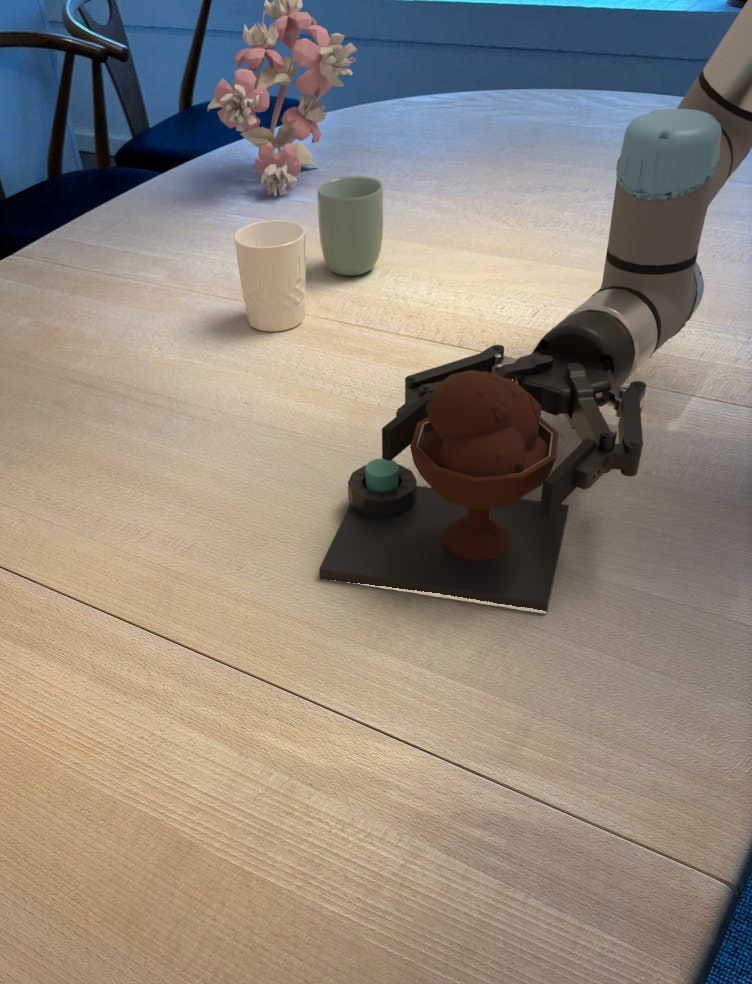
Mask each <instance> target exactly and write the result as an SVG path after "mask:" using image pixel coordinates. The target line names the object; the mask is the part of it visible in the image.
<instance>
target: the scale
mask: <svg viewBox="0 0 752 984" xmlns="http://www.w3.org/2000/svg"><path fill="white" fill-rule="evenodd" d="M366 465H367V464H365V465H363V466H361V467H359V468H357V469H356V470H354V471H353V472H352V473H351V475H350V477H349V479H348V481H347V496H348V497H347V498H348V499H347V500H348V501H349V506H348V507H347V510H346V512H345V513H344V515H343V518H342V520H341V522H340V524H339V527H338V528H337V531H336V532H335V534H334V537H333V539H332V541H331V543H330V546H329V548H328V549H327V552H326V554H325V556H324V558H323V559H322V562H321V564H320V566H319V580H322V579H327V580H326V581H329V580H333V581H332V582H335V581H334V580H336V581H341V582H350V583H356V584H357V583H360V584H369V585H375V586H386V587H392V588H399V589H406V590H407V589H408V590H413V591H414V590H417V591H421V592H422V591H424V592H432V593H440V594H443V595H451V596H454V597H455V596H457V597H463V598H467V599H469V598H470V599H476V600H480V601H487V602H488V601H489V602H493V603H497V604H505V605H512V606H516V607H525V608H526V607H527V608H533V609H537V610H543V611H547V612H548V610H549V606H548V604H549V605H550V601H551V596H552V591H551V590H553V587H552V586H554V582H555V577H556V573H555V572H557V568H556V567H558V563H557V562H559V558H560V554H559V553H561V549H560V548H562V544H563V540H562V539H564V535H563V534H565V530H566V526H567V525H566V524H567V521H566V520H568V516H567V515H569V510H570V504H565V503H564V504H563V503H561V504H560V505H559V506H558V507H557V508H556V509H555V510H554V512H553V513H552V514H551V515H550V516H547V515H544V514H541V513H539V512H540V504H541V500H532V499H525V498H524V499H523V498H520V499H518V500H517V501H515V502H513V503H512V504H510V505H508V506H506V507H502V508H493V509H489V518H491V519H495V520H498V521H499V522H500V523H501V524H502V525H503V526H504V527H505V528H506V529H507V530H508V531H509V533H510V536H511V537H510V544H509V550H507V551H505V552H504V553H502V554H501V555H499V556H498V557H496V558H495V559H488V560H477V561H471V560H468V559H465V558H461V557H458V556H455V555H452V554H451V552H450V551H449V550H448V549H447V548H446V547H445V546H444V544H443V543H442V542H443V538H444V533H445V530H446V527H447V525H449V524H451V523H452V522H454V521H456V520H457V519H459V518H461V517H467V516H468V508H467V507H464V506H460V505H457V504H453V503H450V502H448V501H446V500H445V499H443V498H442V497H441V496H439V495H438V494H437V493H436V492H435V491H434V490H433V488H432V487H430V486H420V485H417V484H418V480H417V478H416V476H415V474H414V472H413V471H412V470H410V469H409V468H407V467H405V466H403V465H401V464H398V466H399V484H398V487H397V488H396V489H395V490H393V491H389V492H383V493H381V492H373V491H370V490H369V489H367V487H366V470H365V468H366ZM564 529H565V530H564ZM558 557H559V558H558ZM554 576H555V577H554ZM553 581H554V582H553ZM341 582H340V583H341ZM550 595H551V596H550ZM549 600H550V601H549ZM547 609H548V610H547Z"/></svg>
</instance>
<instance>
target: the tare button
mask: <svg viewBox="0 0 752 984" xmlns="http://www.w3.org/2000/svg"><path fill="white" fill-rule="evenodd" d="M365 465H366V468H365V470H366V487H367V489H369V490H370V491H373V492H381V493H383V492H389V491H393V490H395V489H396V488H397V487H398V484H399V466H398V465H399V463H397V462H396V461H394V459H392V460H391V461H388V460H385V459H382V458H376V459H375V458H374V459H373V460H370V461H369V462H368V463H367V464H365Z"/></svg>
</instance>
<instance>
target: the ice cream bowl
mask: <svg viewBox="0 0 752 984" xmlns="http://www.w3.org/2000/svg"><path fill="white" fill-rule="evenodd" d="M426 409H427V412H428V415H429V417H427V418H425V419H423V420H421V421H420V422H418V423H417V426H416V429H415V433H414V436H413V439H412V442H411V444H410V445H409V447H410V451H411V452H410V453H411V457H412V461H413V464H414V466H415V468H416V470H417V472H418V473H419V476H421V478H422V479H423V480H424V481H425V482H426V483H427V484H428V485H429V487H430V488H433V490H434V491H435V492H436V493H437V494H438V495H439V496H441V497H442V498H443V499H445V500H446V501H448V502H450V503H453V504H457V505H460V506H464V507H467V508H468V516H467V517H461V518H459V519H457V520H456V521H454V522H452V523H451V524H449V525H447V527H446V530H445V533H444V538H443V542H442V543H443V544H444V546H445V547H446V548H447V549H448V550H449V551H450V552H451V554H452V555H455V556H458V557H461V558H465V559H468V560H471V561H477V560H488V559H495V558H496V557H498V556H499V555H501V554H502V553H504V552H505V551H507V550H509V544H510V537H511V536H510V533H509V531H508V530H507V529H506V528H505V527H504V526H503V525H502V524H501V523H500V522H499V521H498V520H495V519H491V518H489V509H493V508H502V507H506V506H508V505H510V504H512V503H513V502H515V501H517V500H518V499H522V498H523V497H525V496H527V495H528V494H530V493H531V492H532V491H534V490H536V489H538V488H539V487H541V486H543V481H544V480H545V479H546V478H547V477H548V476H549V475H550V474H551V473H552V469H553V467H554V464H555V462H556V459H557V456H558V455H557V454H558V444H559V435H560V432H559V431H558V430H557V429H556V428H554V427H553V426H552V425H551V424H550V423H548V422H547V421H546V420H545V419H543V418H542V410H541V405H540V404H539V403H538V402H537V401H536V400H535V399H534V398H533V396H532V395H530V394H529V393H528V392H527V391H526V390H524V389H523V388H522V387H521V386H519V385H518V384H517V383H515V382H514V381H513V379H512V380H511V379H507V378H503V377H498V376H495V375H493V374H491V373H489V372H487V371H484V372H479V371H474V370H469V371H465V372H461V373H456V374H452V375H450V376H449V377H447V378H446V379H445V380H443V381H442V382H441V383H440V384H439V385H438V386H437V387H436V388H435V390H434V391H433V393H432V396H431V398H430V400H429V402H428V404H427V406H426Z"/></svg>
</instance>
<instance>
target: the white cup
mask: <svg viewBox="0 0 752 984" xmlns="http://www.w3.org/2000/svg"><path fill="white" fill-rule="evenodd" d="M233 238H234V247H235V251H236V259H237V266H238V274H239V279H240V280H239V281H240V286H241V290H242V297H243V301H244V305H245V313H246V318H247V319H246V320H247V322H248V324H249V326H250V327H252V328H253V329H255V330H257V331H262V332H270V333H271V332H272V333H273V332H282V331H287V330H290V329H293V328H296V327H297V326H299V325H300V324H302V323H303V321H304V319H305V318H306V317H305V316H306V299H305V298H306V289H307V288H306V279H307V278H306V277H307V274H306V273H307V266H306V261H307V260H306V259H307V258H306V228H305V227H304V226H303V225H301V224H300V223H298V222H294V221H291V220H290V221H289V220H282V219H281V220H280V219H275V220H274V219H273V220H272V219H271V220H263V221H257V222H253V223H250V224H247V225H244V226H243V227H241V228H239V229H238V230H237V231H236V232H235V234H234V236H233Z"/></svg>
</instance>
